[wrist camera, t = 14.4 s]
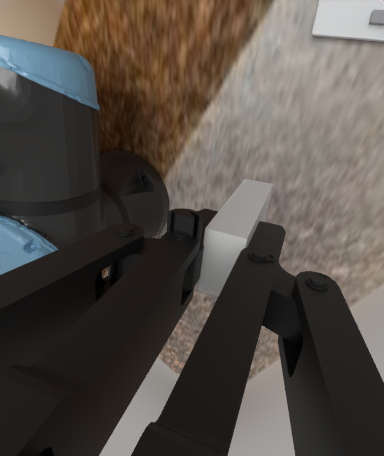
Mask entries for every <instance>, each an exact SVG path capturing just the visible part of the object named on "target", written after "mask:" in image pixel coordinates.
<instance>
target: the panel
mask: <svg viewBox="0 0 384 456" xmlns="http://www.w3.org/2000/svg"><path fill="white" fill-rule="evenodd" d="M312 36H317V37H329V38H341V39H352V40H364V41H376V42H384V0H320V1H319V5H318V9H317V14H316V18H315V22H314V27H313V31H312Z"/></svg>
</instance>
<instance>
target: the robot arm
mask: <svg viewBox="0 0 384 456" xmlns="http://www.w3.org/2000/svg"><path fill="white" fill-rule="evenodd" d="M98 111H100V106H99V105H98V101H97V92H96V83H95V74H94V70H93V68H92V66H91V64H90V63H89V62H88V61H87V60H86V59H85V58H84V57H82V56H81V55H79V54H76V53H73V52H70V51H66V50H63V49H59V48H55V47H51V46H47V45H43V44H39V43H35V42H30V41H26V40H21V39H16V38H12V37H8V36H3V35H0V456H99V454H100V453H101V451H102V449H103V447H104V446H105V444H106V443H107V441H108V439H109V437H110V436H111V434H112V432H113V431H114V429H115V427H116V426H117V424H118V422H119V421H120V419H121V417H122V415H123V414H124V412H125V410H126V409H127V407H128V405H129V404H130V402H131V400H132V399H133V397H134V395H135V393H136V392H137V390H138V389H139V387H140V385H141V384H142V382H143V380H144V379H145V377H146V375H147V373H148V372H149V370H150V368H151V367H152V365H153V363H154V362H155V360H156V358H157V357H158V355H159V353H160V352H161V350H162V348H163V347H164V345H165V343H166V342H167V340H168V338H169V337H170V335H171V333H172V331H173V330H174V328H175V326H176V325H177V323H178V321H179V320H180V318H181V316H182V315H183V313H184V311H185V310H186V308H187V306H188V305H189V303H190V301H191V300H192V298H193V293H194V286H195V284H196V283H197V281H198V287H197V291H200V292H203V293H206V294H210V295H213V296H216V297H218V299H217V301H216V303H215V305H214V307H213V309H212V311H211V313H210V315H209V317H208V319H207V321H206V323H205V325H204V327H203V329H202V331H201V333H200V335H199V337H198V339H197V341H196V343H195V346H194V348H193V350H192V352H191V354H190V356H189V358H188V360H187V362H186V364H185V366H184V368H183V370H182V372H181V374H180V376H179V378H178V380H177V382H176V384H175V386H174V389H173V390H172V393H171V394H170V396H169V398H168V401H167V403H166V405H165V407H164V409H163V411H162V413H161V415H160V417H159V418H158V420H157V421H156V422H151V423H150V424H149V425H148V426H147V427H146V429H145V431H144V432H143V434H142V436H141V437H140V439H139V441H138V443H137V445H136V447H135V449H134V451H133V453H132V455H131V456H227V455H228V452H229V448H230V444H231V440H232V436H233V432H234V429H235V425H236V421H237V417H238V413H239V410H240V405H241V402H242V398H243V394H244V391H245V387H246V383H247V379H248V375H249V372H250V368H251V364H252V360H253V356H254V353H255V349H256V345H257V341H258V337H259V334H260V330H261V326H262V325H263V326H264V327H266V328H268V329H269V330H271V331H273V332H274V333H276V334H278V335H279V337H278V345H279V352H280V358H281V365H282V371H283V378H284V384H285V391H286V397H287V404H288V410H289V417H290V423H291V429H292V436H293V443H294V450H295V456H384V382H383V380H382V378H381V376H380V374H379V372H378V370H377V368H376V365H375V363H374V361H373V359H372V357H371V354H370V352H369V350H368V348H367V346H366V344H365V341H364V339H363V337H362V335H361V333H360V331H359V329H358V327H357V324H356V322H355V320H354V318H353V316H352V314H351V311H350V309H349V307H348V305H347V303H346V301H345V299H344V296H343V294H342V292H341V290H340V288H339V286H338V285H337V283H336V282H335V281H334V280H332V279H331V278H330V277H328V276H326V275H323V274H322V273H317V272H312V271H305V272H301V273H299V274H298V275H297V276H296V277H295V276H293V275H291V274H289V273H287V272H286V271H285V270H284V269H282V267H281V266H280V264H279V257H280V253H281V249H282V245H283V241H284V237H285V233H286V232H285V230H284V228H283V227H282V226H279V225H275V224H271V223H267V222H265V220H266V215H267V211H268V207H269V202H270V198H271V193H272V189H273V184H270V183H265V182H260V181H255V180H251V179H246V178H245V179H244V180H243V181H242V182H241V184H240V185H239V186H238V187H237V189H236V190H235V191H234V193H233V194H232V195H231V196H230V198H229V199H228V200H227V201H226V203H225V204H224V205H223V206H222V208H221V209H220V210H219V212H217V211H213V210H209V209H203V210H200V211H194V210H190V209H174V210H171V211H169V200H168V194H167V191H166V188H165V185H164V183H163V181H162V179H161V177H160V176H159V174H158V173H157V171H156V170H155V169H154V168H153V167H152V166H151V165H150V164H149V163H148V162H147V161H146V160H144V159H143V158H141V157H140V156H138V155H136V154H134V153H131V152H128V151H123V150H112V151H108V152H104V153H102V154H100V144H99V117H98ZM168 211H169V212H168ZM167 217H168V221H167V232H166V233H165V234H164V235H163V236H162V237H161V238H153V237H154V236H156V235H157V234H158V233H159V232H160V231H161V229H162V228H163V226H164V225H165V222H166V220H167ZM107 267H108V276H107V277H105V278H102V270H103V269H105V268H107Z"/></svg>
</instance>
